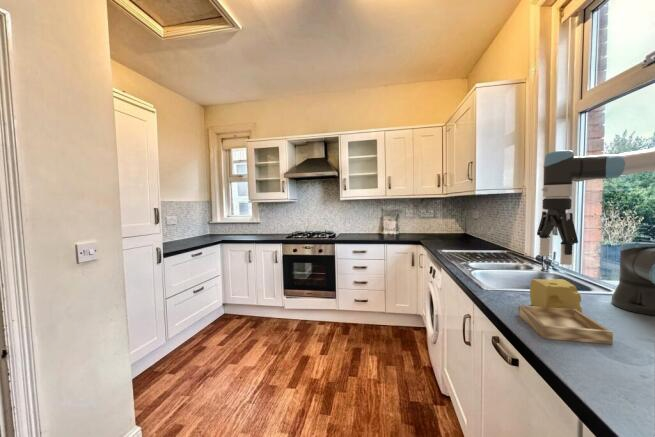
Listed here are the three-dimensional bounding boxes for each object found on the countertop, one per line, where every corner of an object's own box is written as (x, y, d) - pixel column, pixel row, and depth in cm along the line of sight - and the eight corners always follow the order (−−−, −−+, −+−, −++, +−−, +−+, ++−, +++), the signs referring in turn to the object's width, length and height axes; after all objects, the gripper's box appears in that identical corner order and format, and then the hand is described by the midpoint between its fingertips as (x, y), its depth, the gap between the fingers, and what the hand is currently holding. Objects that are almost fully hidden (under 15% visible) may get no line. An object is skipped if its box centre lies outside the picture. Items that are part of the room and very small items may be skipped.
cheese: (582, 318, 90) (583, 287, 89) (544, 315, 92) (545, 286, 92) (562, 305, 100) (562, 278, 100) (528, 304, 102) (529, 277, 102)
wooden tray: (575, 318, 89) (575, 308, 89) (612, 344, 74) (612, 332, 74) (518, 314, 93) (518, 305, 93) (542, 338, 78) (542, 326, 78)
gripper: (527, 198, 107) (525, 252, 108) (565, 198, 83) (562, 268, 84) (550, 197, 105) (548, 253, 106) (595, 197, 81) (591, 269, 82)
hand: (554, 259), depth 95 cm, fingers open, 13 cm apart
